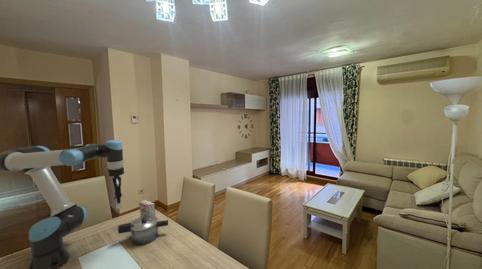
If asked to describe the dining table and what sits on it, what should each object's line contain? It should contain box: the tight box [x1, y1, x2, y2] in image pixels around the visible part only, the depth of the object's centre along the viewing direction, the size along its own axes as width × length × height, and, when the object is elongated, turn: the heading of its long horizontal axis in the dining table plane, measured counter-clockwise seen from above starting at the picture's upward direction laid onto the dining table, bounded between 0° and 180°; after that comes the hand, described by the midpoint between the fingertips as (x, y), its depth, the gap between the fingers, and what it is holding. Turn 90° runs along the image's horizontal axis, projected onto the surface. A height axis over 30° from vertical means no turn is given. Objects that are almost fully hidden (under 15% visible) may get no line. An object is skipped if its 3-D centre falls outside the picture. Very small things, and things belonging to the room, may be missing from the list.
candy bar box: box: [138, 199, 156, 218], centre depth 136 cm, size 11×5×16 cm, turn 58°
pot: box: [118, 219, 169, 247], centre depth 122 cm, size 28×15×9 cm, turn 106°
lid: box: [117, 215, 159, 232], centre depth 120 cm, size 22×16×3 cm
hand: (119, 207), depth 111 cm, fingers closed
